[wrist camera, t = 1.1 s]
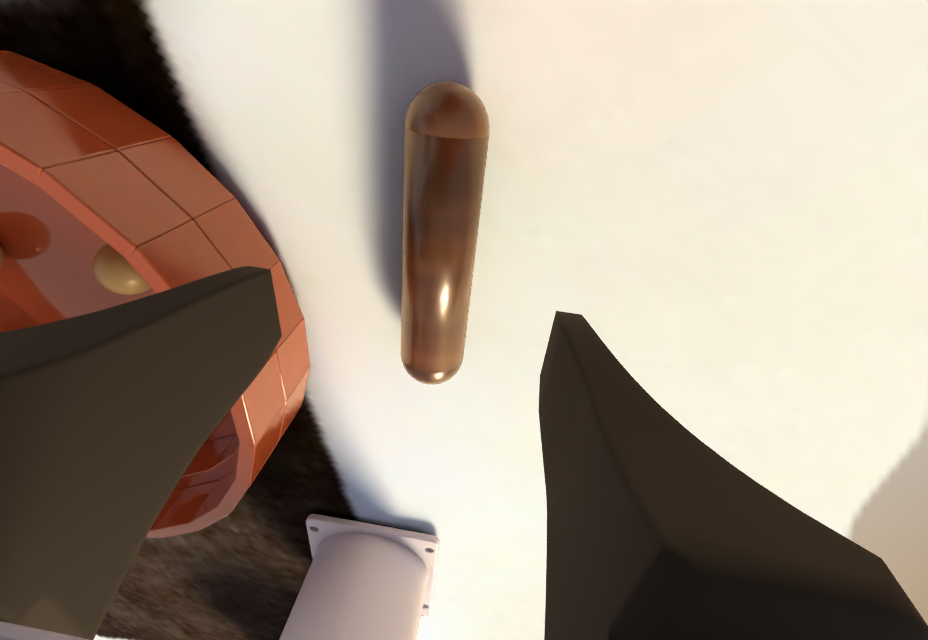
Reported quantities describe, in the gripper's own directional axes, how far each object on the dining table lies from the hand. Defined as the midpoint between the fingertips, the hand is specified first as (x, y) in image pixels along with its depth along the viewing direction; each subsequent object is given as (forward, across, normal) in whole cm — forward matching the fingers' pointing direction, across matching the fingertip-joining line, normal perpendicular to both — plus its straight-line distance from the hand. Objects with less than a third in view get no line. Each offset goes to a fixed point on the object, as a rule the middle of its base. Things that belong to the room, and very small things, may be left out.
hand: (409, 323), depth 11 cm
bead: (+4, +12, +2) cm, 12 cm away
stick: (+5, 0, 0) cm, 5 cm away
